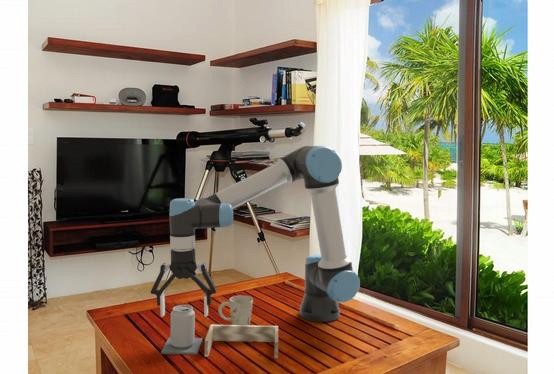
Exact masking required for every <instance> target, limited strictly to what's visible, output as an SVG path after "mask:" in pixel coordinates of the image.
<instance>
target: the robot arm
mask: <svg viewBox="0 0 554 374" xmlns="http://www.w3.org/2000/svg"><path fill="white" fill-rule="evenodd" d="M342 169H343V162H342V159H341V156H340V155H339V153H338V152H337V151H336V150H334V149H333V148H331V147H328V146H325V145H305V146H302V147H300V148H297V149H295V150H294V151H291V152H290V153H288V154H285V155H284V156H282V157H280V158H278V159H277V162H276V163H274V164H272V165H270V166H268V167H266V168H264V169H262V170H260V171H258V172H256V173H254V174H252V175H250V176H248V177H246V178H244V179H242V180H240V181H237V182H236V183H234V184H232V185H230V186H228V187H225V188H224V189H222V190H220V191H217V192H216V193H213V194H211V195H210V196H207V197H202V198H198V199H197V200H196V201H195V200H194V199H193V198H189V197H188V198H185V197H182V198H181V197H180V198H174V199H172V200H170V203H169V214H168V215H169V232H170V235H169V239H170V241H169V242H170V244H169V245H170V249H171V250H170V264H167V263H165V262H163V263H162V264H161V265H160V269H159V273H158V276H157V277H156V279H155V282H154V284H153V286H152V288H151V290H150V295H151V294H152V295H155V296H156V304H157V306H158V307H160V308H159V309H160V310H159V311H160V317H161V318H163V317H164V316H165V314H166V303H165V302H166V300H165V299H166V298H165V297H166V296H165V293H163V292H164V291H165V290H166V289H167V288H168V286H169V285H170V284H171V283H172V282H173V280H175V278H176V279H178V280H181V279H184V280H188V279H191V280H192V281H194V283H196V285H197V286H198V287H199V288H200V289H201V291H202V292H203V293H204V295H203V303H204V305H203V306H204V307H203V311H204V312H203V313H204V314H203V315H204V317H205V318H207V317H208V315H209V306H211V304H212V295H213V294H216V293H217V291H218V289H217V287H216V284H215V282H214V281H213V279H212V277H211V275H210V273H209V272H208V270H207V264H206V263H205V262H202V263H198V264H197V262H196V248H195V247H196V229H198V230H199V229H216V228H226V227H227V228H228V227H231V226H232V225H233V223H234V222H233V221H234V209H236V208H238V207H240V206H242V205H243V204H245V203H248V202H249V201H252V200H253V199H255V198H257V197H260V196H261V195H264V194H265V193H267V192H270V191H271V190H273V189H276V188H278V187H280V186H281V185H283V184H287V183H288V184H292V183H293V182H296V181H299V180H303V183H304V189H305V190H306V191H308V192H309V193H310V198H311V205H312V210H313V216H314V222H315V229H316V234H317V240H318V246H319V252H320V254H311V255H308V256H306V258H305V264H304V267H305V268H304V269H305V271H304V296H303V298H302V301H301V304H300V306H299V316H300V317H301V318H303V319H305V320H308V321H312V322H317V323H318V322H321V323H323V322H324V323H325V322H333V321H336V320H337V319H339V318H340V316H341V315H340V312H341V311H340V307H339V303H347V302H349V301H351V300H352V299H354V298H355V297H356V295H357V294H358V292H359V290H360V288H361V286H360V285H361V281H360V277H359V274H357V273H356V272H355V271H354V270H353V264H352V263H353V262H352V258H351V257H349V256H348V255H347V254H346V247H345V241H344V235H343V229H342V228H343V227H342V223H341V222H342V221H341V217H340V210H339V204H338V197H337V191H336V189H337V187H338V186H339V184H340V181H339V177H340V174H341V173H342ZM197 269H198V270H199V271H200V272H201V274H202V276H203V278H204V280H205V282H206V283H207V285H208V286H207V285H206V283H205V282H204V281H203V279H202V278H200V276H199V275H198V274H197V272H196V271H197ZM168 270H170V271H171V272H172V274H171V276H170V277H169V278H168V279H167V280H166V282H164V283H163V284H162V286H161V287H160V289H158V288H159V286H160V284H161V282H162V279H163V277H164V275H165V273H166V272H168Z"/></svg>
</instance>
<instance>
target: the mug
mask: <svg viewBox="0 0 554 374" xmlns="http://www.w3.org/2000/svg"><path fill="white" fill-rule="evenodd" d="M228 300H229V301H223V302H221V303H220V304H219V306H218V313H219V316H220V318H222V319H223V320H224V321H228V322H231V325H250V324H251V319H252V311H253V306H254V305H253V304H254V299H253V297H252V296H250V295H233V296H231V297H230V298H229V299H228ZM225 306H226V307H227V306H228V307H229V311H230V317H226V316H225V315H224V314H223V311H222V310H223V309H224V307H225Z"/></svg>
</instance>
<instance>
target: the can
mask: <svg viewBox="0 0 554 374" xmlns="http://www.w3.org/2000/svg"><path fill="white" fill-rule="evenodd" d="M193 308H194V307H193V306H192V305H188V304H180V305H175V306H174V307H172V311H171V312H170V333H169V334H170V335H169V337H170V344H171V345H173V346H174V347H175V348H180V349H182V348H188V347H190V346H191V345H192V344H193V343H194V342H195V338H196V336H195V334H196V333H195V331H196V330H195V329H196V328H195V327H196V326H195V325H196V324H195V323H196V321H195V320H196V312H195V311H194V310H193Z"/></svg>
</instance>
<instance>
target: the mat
mask: <svg viewBox="0 0 554 374" xmlns="http://www.w3.org/2000/svg"><path fill="white" fill-rule="evenodd" d="M203 341H204V340H203V337H195V342H194V343H193V344H192V345H191V346H190V347H188V348H182V349H180V348H175V347H174V346H173V345H171V344H170V336H169V337H168V338H167V340H166V342H165V344H164V345H163V347H162V349H161V350H160V354H161V355H198V353H199V350H200V348H201V345H202V343H203Z"/></svg>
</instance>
